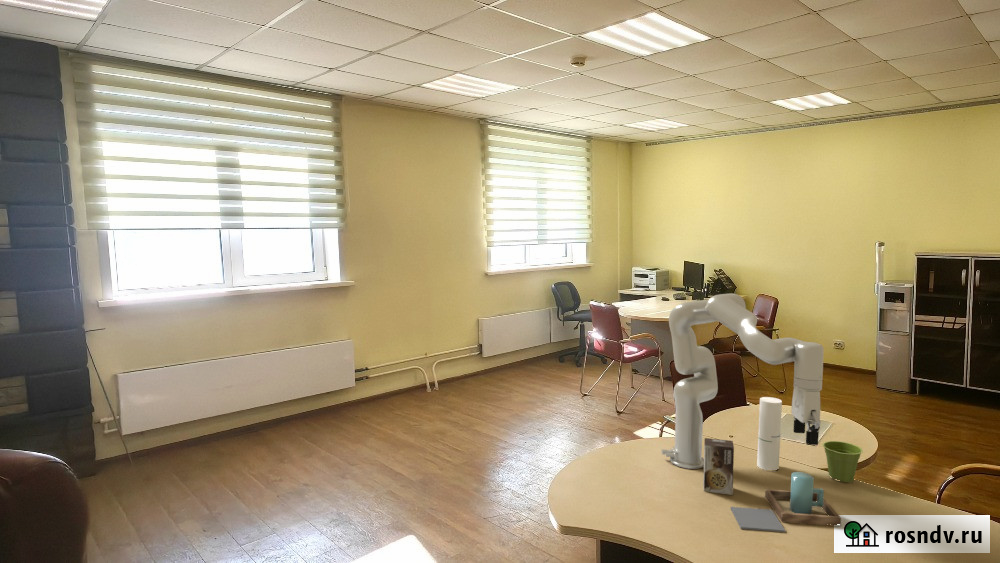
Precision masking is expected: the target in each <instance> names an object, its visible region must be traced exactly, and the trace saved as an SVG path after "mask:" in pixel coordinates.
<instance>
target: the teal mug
mask: <svg viewBox="0 0 1000 563" xmlns="http://www.w3.org/2000/svg"><path fill="white" fill-rule="evenodd" d="M790 475H791V477H790V491H791V494H790V500H789V510H790V511H791V513H800V514H813V507H820V508H821V507H823V498H824V493H825V492H824V491H825V490H824V489H823V488H820V487H819V488H818V487H817V488H815V487H814V484H815V483H814V480H815V478H814V476H813V475H811V474H809V473H806V472H801V471H794V472H791V474H790ZM813 493H818V498H817V502H816V501H813Z"/></svg>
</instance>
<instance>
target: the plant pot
mask: <svg viewBox="0 0 1000 563" xmlns="http://www.w3.org/2000/svg"><path fill="white" fill-rule="evenodd" d="M822 447H823V448H824V452H825V456H826V464H827V471H828V476H829V475H830V476H831V477H832V478H834V479H837V480H840V481H841V482H843V481H844V483H846V482H849V483H853V482H854V479H855V475H856V470H857V468H858V464H859V463H858V462H859V460H860V458H861V454H862V453H863V452H864V449H862V448H861V447H860V446H858V445H856V444H853V443H849V442H846V441H840V440H827V441H825V442H823V443H822ZM830 476H829V477H830ZM832 478H831V479H832Z"/></svg>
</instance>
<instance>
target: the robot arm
mask: <svg viewBox="0 0 1000 563" xmlns="http://www.w3.org/2000/svg"><path fill="white" fill-rule="evenodd" d="M714 322H715V323H716V322H719V323H721V325H723V326H725V327H726V328H728V329H729V330H730V331H732V332H734V333H735V334H736V335H738V337H739V339H740V341H741V342H742V344H743V347H745V349H746V350H748V352H750V353H751V354H752V355H754V356H755V357H757V358H758V359H759V360H761V361H763V363H764V362H765V363H767V364H770V365H773V366H776V365H781V364H785V363H792V362H794V368H793V370H794V371H793V392H792V400H791V414H792V416H793V433H795V434H805V433H806V434H805V444H806V445H808V446H809V445H810V446H818V445H819V436H820V435H819V434H820V429H821V427H820V426H821V392H820V391H822V390H823V376H824V375H823V373H824V355H825V354H824V352H825V350H824V346H823V345H822V344H820V343H818V342H812V341H804V340H800V339H798V338H794V337H787V336H786V337H780V338H776V339H771V338H770V337H769V336H767V335H766V334H764V333H763V332H761V331H760V330H759V329H758V328H757V327H756V326H757V323H758V317H757V315H756V314H755V313H753V312H752V311H750V310H748V309H747V306H746V301H745V300H744V299H743V297H742V296H741V295H740V294H736V293H732V292H731V293H722V294H721V293H720V294H715V295H713V296H711V297H710V298H709V299H704V300H691V301H686V302H682V303H679V304H677V305H675V306H674V307H673V308H672V310H671V311H670V313H669V316H668V325H669V326H668V327H669V330H670V334H671V341H672V342H671V344H672V351H673V361H674V366H675V370H676V372H678V373H679V374H681V375H685V376H687V375H693V376H690V377H687V378H683V379H680V380H679V381H677V382H676V383H675V385H674V387H673V393H672V394H673V399H674V406H675V417H674V418H675V419H674V420H675V422H674V425H675V427H674V429H675V430H674V432H675V433H674V446H672V448H670V449H665V448H664V449H662V448H661V455H662V456H663V455H664V456H665V457H667V458H668V457H669V461H670V462H671V464H673V465H674V466H677V467H680V468H683V469H689V470H690V469H691V470H696V469H703V468H704V456H702V454H703V452H702V450H703V430H704V429H703V425H704V424H703V421H704V418H703V412H702V409H701V406H700V404H701V403H704V402H708V401H711V400H713V399H715V397H716V396H717V394H718V390H719V387H718V386H719V385H718V384H719V383H718V376H717V368H716V360H715V356H714V354H713V353H712V351H711V350H710V349H709V348H707V347H705V346H701V345H699V346H698V343H697V336H696V333H695V331H694V329H693V328H692V327H693V326H695V325H704V324H711V323H714ZM806 428H807V430H806Z"/></svg>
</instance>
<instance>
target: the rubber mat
mask: <svg viewBox="0 0 1000 563" xmlns="http://www.w3.org/2000/svg"><path fill="white" fill-rule="evenodd" d="M730 510H731V513H732V514H733V516H734V518H735V520H736V522H737V525H738V526H739V528H740V529H741V530H747V531H748V530H749V531H762V532H775V533H776V532H777V533H786V529H785V528H784V526H783V524H782V522H780V521H781V520H780V519H779V517H778V516H776V515H777V514H776V513H775V511H774V510H773V509H768V508H767V509H764V508H756V507H755V508H751V507H738V506H730Z"/></svg>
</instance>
